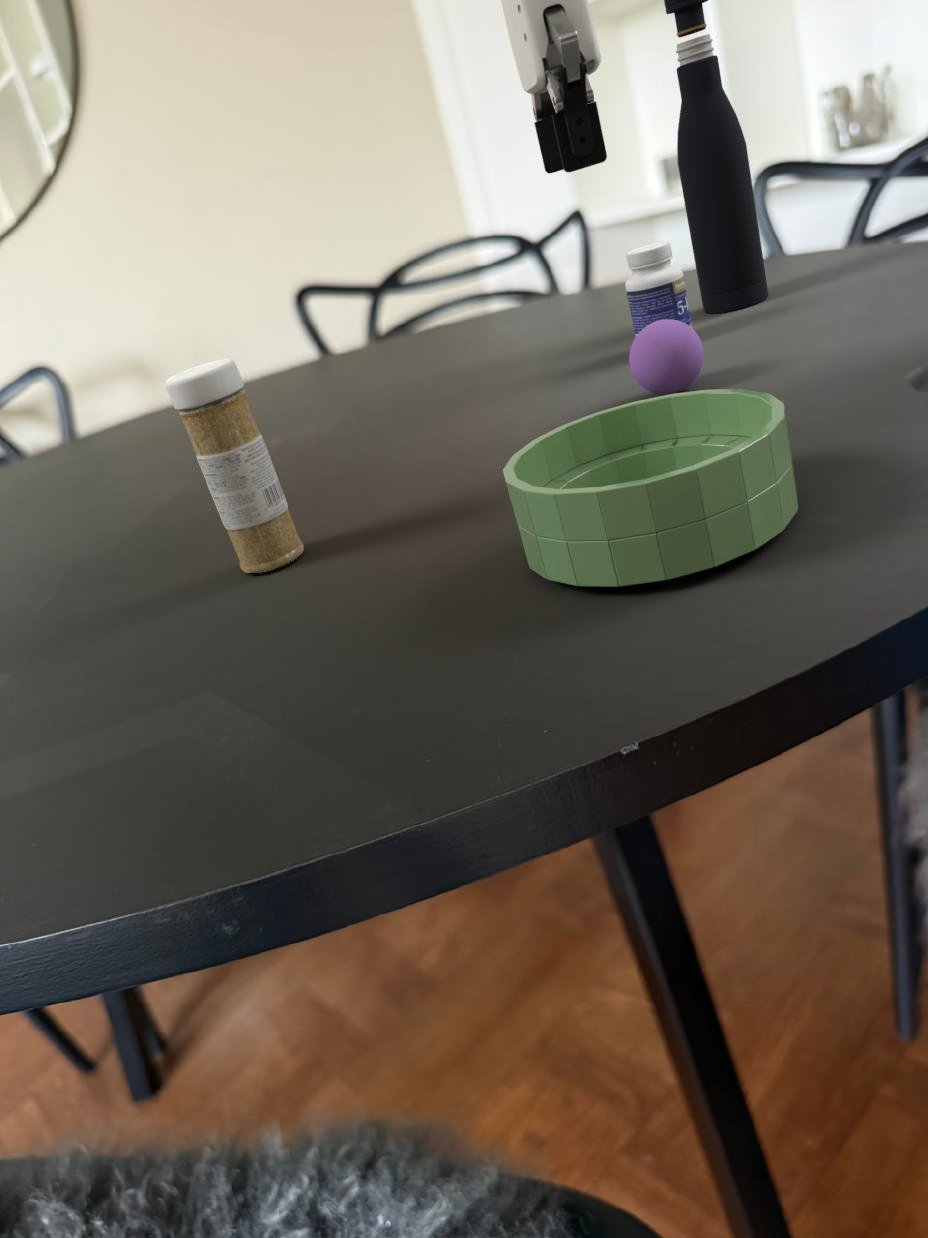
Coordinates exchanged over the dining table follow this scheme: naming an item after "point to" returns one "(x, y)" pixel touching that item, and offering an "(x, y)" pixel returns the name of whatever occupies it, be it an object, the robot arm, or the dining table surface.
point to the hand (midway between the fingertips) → (575, 167)
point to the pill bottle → (655, 287)
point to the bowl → (654, 488)
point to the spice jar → (236, 464)
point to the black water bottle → (715, 175)
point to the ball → (666, 357)
